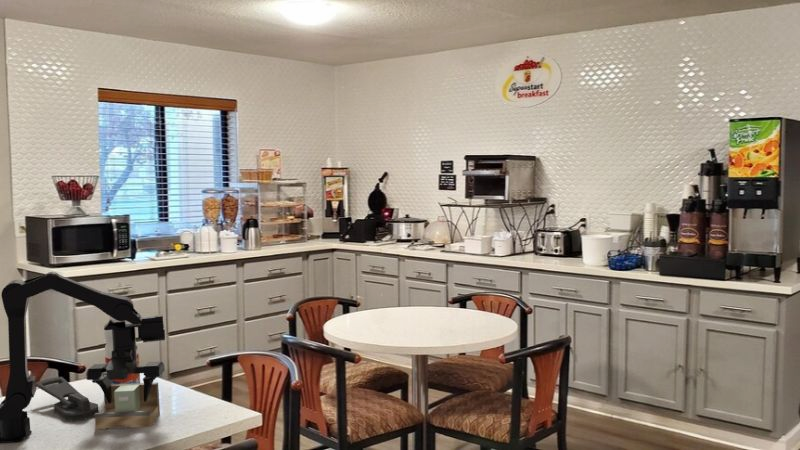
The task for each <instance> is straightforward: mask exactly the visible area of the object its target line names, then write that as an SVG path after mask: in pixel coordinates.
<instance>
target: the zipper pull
mask: <svg viewBox="0 0 800 450" xmlns="http://www.w3.org/2000/svg"><path fill="white" fill-rule="evenodd" d="M35 387H37V388H38V389H40V390H41V391H43V392H44V393H47V394H48V395H50V396H52V397H53V398H54V399H57V400H58V401H57V402H55V403H54V404H53V410H54V411H53V412H54V413H55V414H57V415H58V416H59V417H60V418H62V419H63V420H65V422H67V421H68V422H77V421H83V420H88V419H91V418H93V417H94V418H95V413H100V410H99V404H98V403H95V402H93V401H92V402H91V401H90V400H89V397H87V396H85V395H83V394H82V393H80V392H79V391H78V390H77V389H76V388H75V387H74V386H72V384H70V383H69V382H68V380H66V379H65V378H64V377H63V376H57V377H51V378H47V379H43V380H39V381H37V382H36V381H35ZM66 398H67V399H66Z"/></svg>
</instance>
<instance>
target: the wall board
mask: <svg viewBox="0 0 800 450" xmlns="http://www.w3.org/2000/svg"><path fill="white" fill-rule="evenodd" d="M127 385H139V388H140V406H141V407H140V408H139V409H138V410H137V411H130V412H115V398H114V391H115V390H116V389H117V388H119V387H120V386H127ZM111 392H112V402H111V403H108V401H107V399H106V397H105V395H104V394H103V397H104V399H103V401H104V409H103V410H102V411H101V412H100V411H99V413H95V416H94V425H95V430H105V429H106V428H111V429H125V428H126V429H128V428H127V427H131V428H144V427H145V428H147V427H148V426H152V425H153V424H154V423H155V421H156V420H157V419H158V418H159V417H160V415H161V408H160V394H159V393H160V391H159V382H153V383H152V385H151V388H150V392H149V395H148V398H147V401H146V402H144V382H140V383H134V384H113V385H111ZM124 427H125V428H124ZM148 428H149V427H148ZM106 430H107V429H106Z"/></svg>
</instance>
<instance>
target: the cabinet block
mask: <svg viewBox="0 0 800 450" xmlns="http://www.w3.org/2000/svg"><path fill="white" fill-rule="evenodd" d="M114 398H115V412H130V411H137V410H138V409H139V408H140V407H141V406H140V388H139V385H127V386H120V387H119V388H117V389H116V390H115V391H114Z"/></svg>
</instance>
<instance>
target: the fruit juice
mask: <svg viewBox="0 0 800 450" xmlns="http://www.w3.org/2000/svg"><path fill="white" fill-rule="evenodd" d="M110 319H111V320H112V321H114V322H121V321H117V320H115V319H114V318H112V317H110V316H109V317H108V321H107V323H108V322H109V320H110ZM125 324H132V323H130V322H128V321H126V320H125ZM137 334H138V328H137V327H135V336H136V337H137ZM103 336H104V339H105V346H104V364H109V362H110V361H111V357H112V351H113V341H112V330H104V329H103ZM136 345H137V350H136V354H137V360H138V365H137V366H140V359H139V358H140V355H139V351H140V350H139V345H138V342H137V341H136ZM134 383H141V373H136V374H128V377H127V378H126V379H123V380H120V379H113V380H111V385H113V384H134Z"/></svg>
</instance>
